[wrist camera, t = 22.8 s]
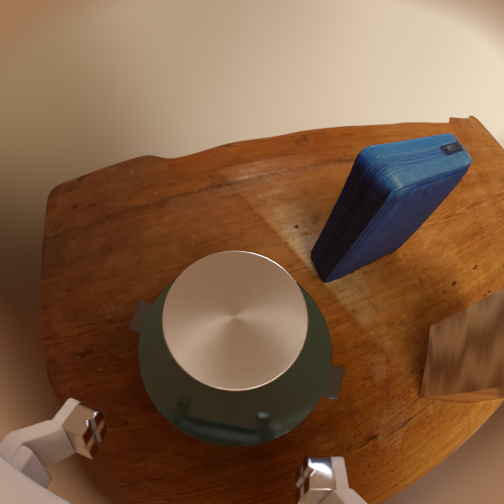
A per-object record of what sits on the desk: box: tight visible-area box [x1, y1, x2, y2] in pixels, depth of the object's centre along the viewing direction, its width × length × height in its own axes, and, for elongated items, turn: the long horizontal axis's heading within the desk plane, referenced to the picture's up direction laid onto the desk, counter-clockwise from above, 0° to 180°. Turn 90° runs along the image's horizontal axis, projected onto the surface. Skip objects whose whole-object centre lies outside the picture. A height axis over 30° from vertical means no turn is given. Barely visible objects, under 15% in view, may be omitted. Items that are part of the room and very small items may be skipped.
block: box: [419, 287, 504, 403], centre depth 22 cm, size 10×10×18 cm
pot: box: [129, 280, 345, 447], centre depth 26 cm, size 16×20×9 cm
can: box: [162, 251, 308, 392], centre depth 17 cm, size 6×6×11 cm
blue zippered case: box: [311, 133, 472, 283], centre depth 28 cm, size 14×5×20 cm, turn 114°
